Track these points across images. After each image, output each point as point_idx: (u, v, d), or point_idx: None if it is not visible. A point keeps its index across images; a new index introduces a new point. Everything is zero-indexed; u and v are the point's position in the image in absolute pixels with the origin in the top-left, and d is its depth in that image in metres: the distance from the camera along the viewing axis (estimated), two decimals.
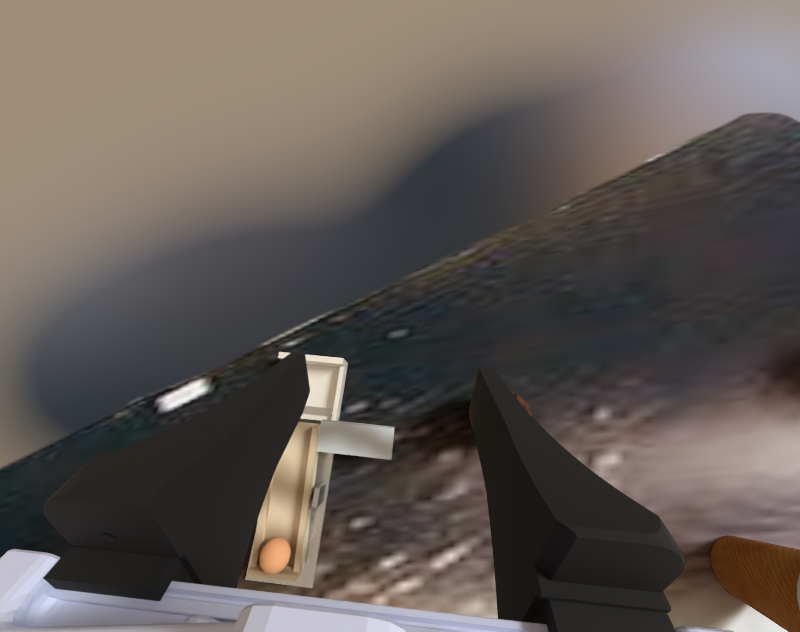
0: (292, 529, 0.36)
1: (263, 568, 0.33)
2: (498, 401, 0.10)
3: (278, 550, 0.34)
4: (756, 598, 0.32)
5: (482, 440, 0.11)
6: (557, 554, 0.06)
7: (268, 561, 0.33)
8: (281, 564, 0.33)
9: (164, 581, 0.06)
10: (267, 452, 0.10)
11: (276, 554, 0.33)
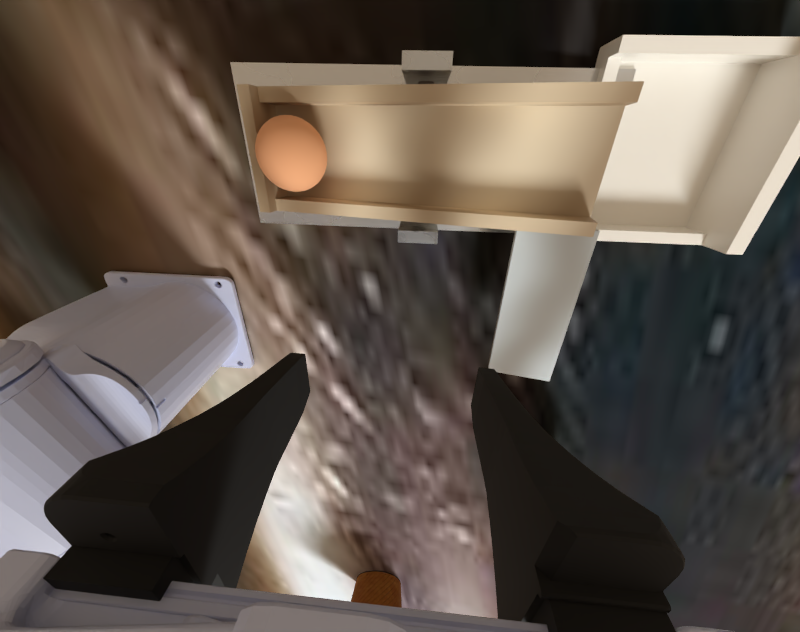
0: (346, 177, 0.16)
1: (261, 139, 0.13)
2: (498, 401, 0.10)
3: (304, 171, 0.14)
4: None
5: (482, 440, 0.11)
6: (557, 554, 0.06)
7: (279, 152, 0.13)
8: (279, 183, 0.14)
9: (164, 581, 0.06)
10: (267, 452, 0.10)
11: (296, 169, 0.14)
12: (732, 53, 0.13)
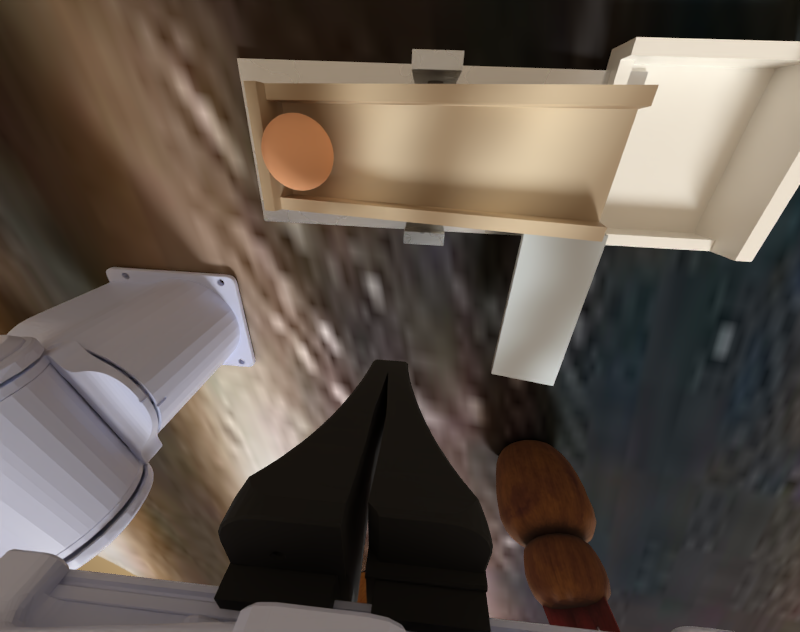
0: (352, 177, 0.16)
1: (267, 137, 0.13)
2: (390, 392, 0.10)
3: (310, 170, 0.14)
4: None
5: None
6: (375, 535, 0.06)
7: (285, 151, 0.13)
8: (285, 182, 0.14)
9: (332, 601, 0.06)
10: (372, 462, 0.10)
11: (302, 168, 0.14)
12: (747, 57, 0.13)
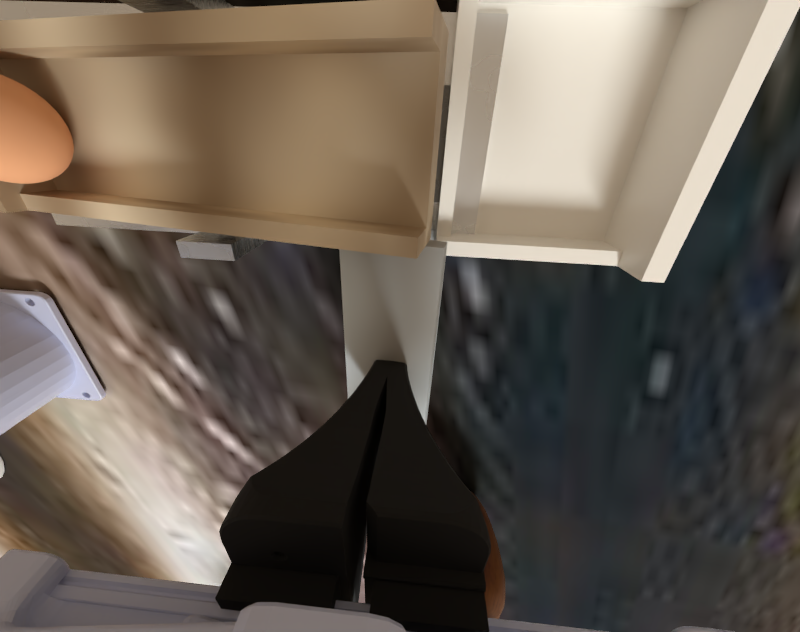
0: (113, 165, 0.11)
1: None
2: (389, 392, 0.10)
3: None
4: None
5: None
6: (374, 535, 0.06)
7: None
8: None
9: (333, 601, 0.06)
10: (373, 462, 0.10)
11: None
12: None
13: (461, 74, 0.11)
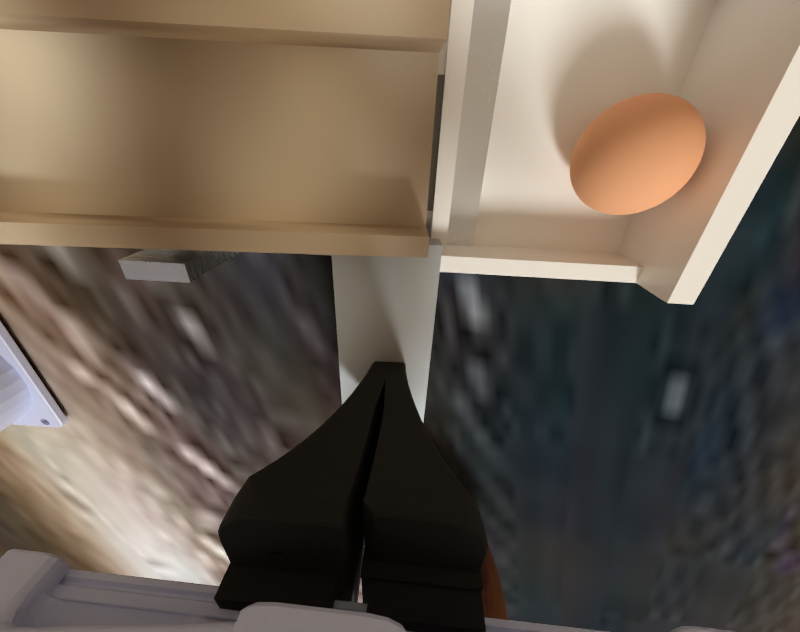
0: (9, 172, 0.09)
1: (654, 132, 0.08)
2: (387, 392, 0.10)
3: (683, 185, 0.09)
4: None
5: None
6: (371, 534, 0.06)
7: (686, 155, 0.08)
8: (634, 205, 0.09)
9: (332, 600, 0.06)
10: (372, 462, 0.10)
11: (683, 183, 0.08)
12: None
13: (457, 61, 0.09)
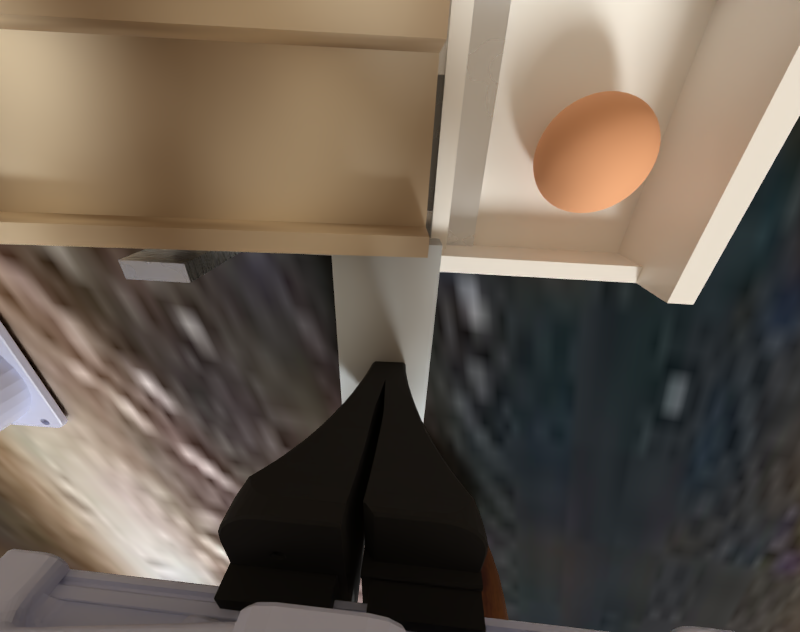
0: (9, 172, 0.09)
1: (564, 130, 0.08)
2: (387, 392, 0.10)
3: (620, 184, 0.08)
4: None
5: None
6: (371, 534, 0.06)
7: (592, 151, 0.08)
8: (562, 199, 0.09)
9: (332, 600, 0.06)
10: (372, 462, 0.10)
11: (608, 180, 0.08)
12: None
13: (457, 61, 0.09)
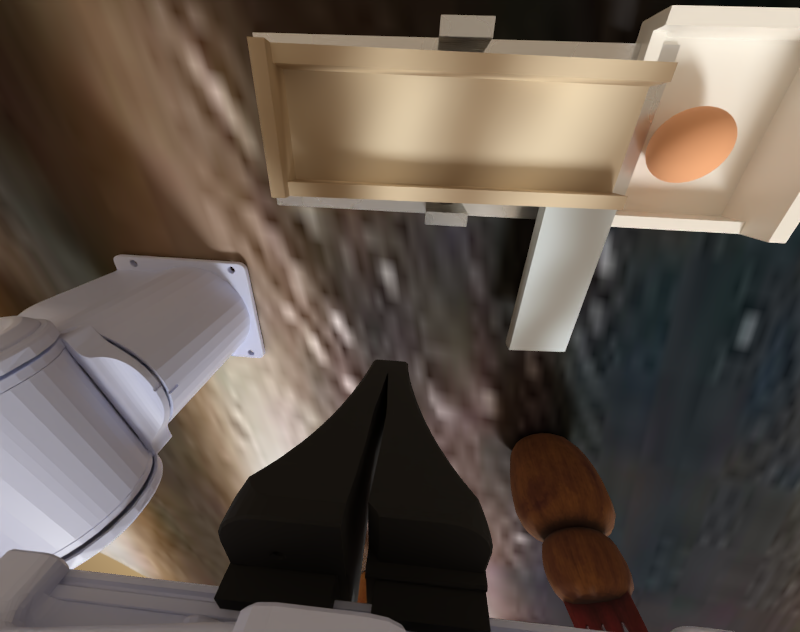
0: (369, 156, 0.14)
1: (656, 130, 0.15)
2: (390, 392, 0.10)
3: (673, 160, 0.14)
4: None
5: None
6: (375, 535, 0.06)
7: (657, 141, 0.15)
8: (650, 171, 0.16)
9: (332, 600, 0.06)
10: (372, 462, 0.10)
11: (665, 158, 0.14)
12: (787, 26, 0.13)
13: None
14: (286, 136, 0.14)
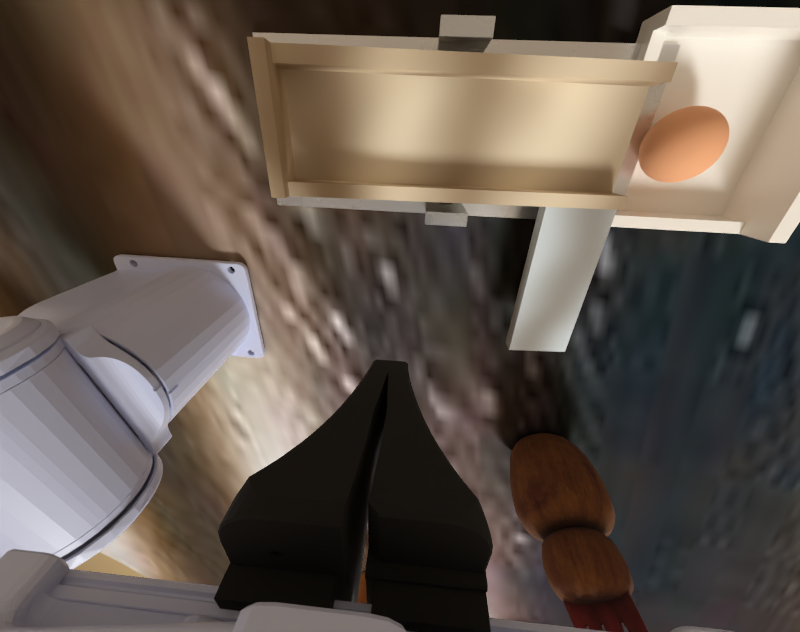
0: (369, 156, 0.14)
1: None
2: (390, 392, 0.10)
3: (658, 159, 0.14)
4: None
5: None
6: (375, 535, 0.06)
7: (646, 141, 0.15)
8: None
9: (332, 600, 0.06)
10: (372, 462, 0.10)
11: (651, 157, 0.15)
12: (787, 26, 0.13)
13: None
14: (286, 136, 0.14)
